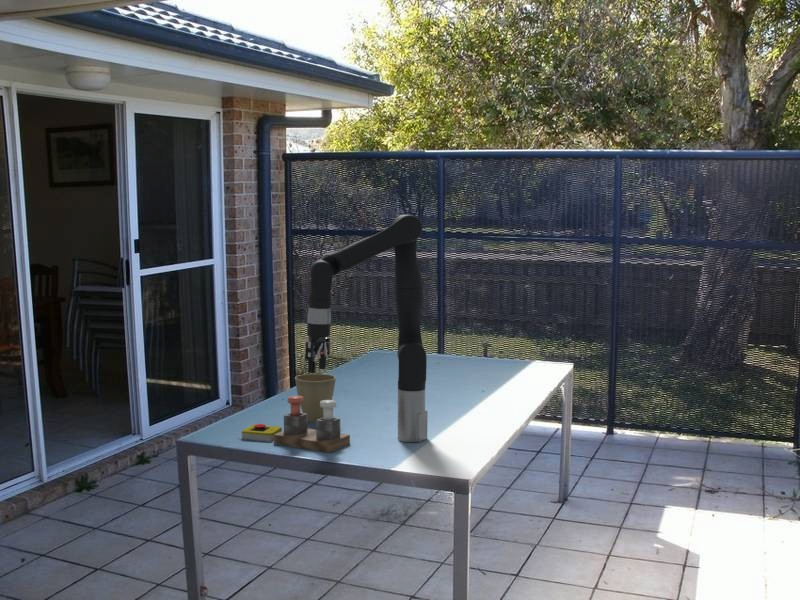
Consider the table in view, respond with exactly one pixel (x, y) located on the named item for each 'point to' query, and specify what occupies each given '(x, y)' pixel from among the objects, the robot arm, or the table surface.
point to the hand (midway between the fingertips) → (317, 370)
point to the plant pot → (314, 393)
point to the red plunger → (295, 404)
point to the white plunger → (328, 409)
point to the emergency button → (260, 432)
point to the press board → (312, 434)
